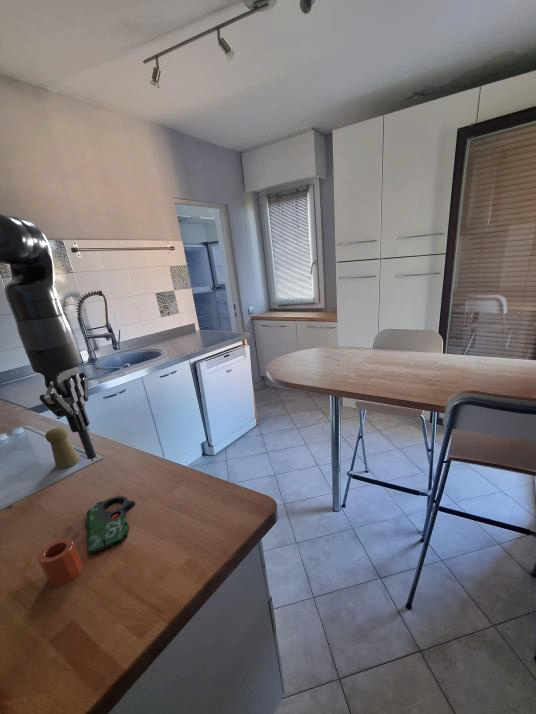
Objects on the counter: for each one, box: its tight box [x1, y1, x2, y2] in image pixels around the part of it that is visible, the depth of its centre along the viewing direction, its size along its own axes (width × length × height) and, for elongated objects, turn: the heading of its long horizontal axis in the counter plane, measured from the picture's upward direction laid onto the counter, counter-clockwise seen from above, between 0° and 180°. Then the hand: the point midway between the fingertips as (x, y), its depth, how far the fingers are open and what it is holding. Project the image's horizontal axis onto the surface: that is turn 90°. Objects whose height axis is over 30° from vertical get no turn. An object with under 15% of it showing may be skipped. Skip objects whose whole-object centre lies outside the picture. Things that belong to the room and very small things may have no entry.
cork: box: [45, 426, 81, 470], centre depth 95 cm, size 6×6×11 cm
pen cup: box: [37, 537, 83, 586], centre depth 60 cm, size 5×5×6 cm
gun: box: [85, 495, 136, 556], centre depth 72 cm, size 16×1×10 cm
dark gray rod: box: [70, 404, 97, 462], centre depth 67 cm, size 2×2×12 cm
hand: (81, 428), depth 66 cm, fingers closed on dark gray rod, 1 cm apart
